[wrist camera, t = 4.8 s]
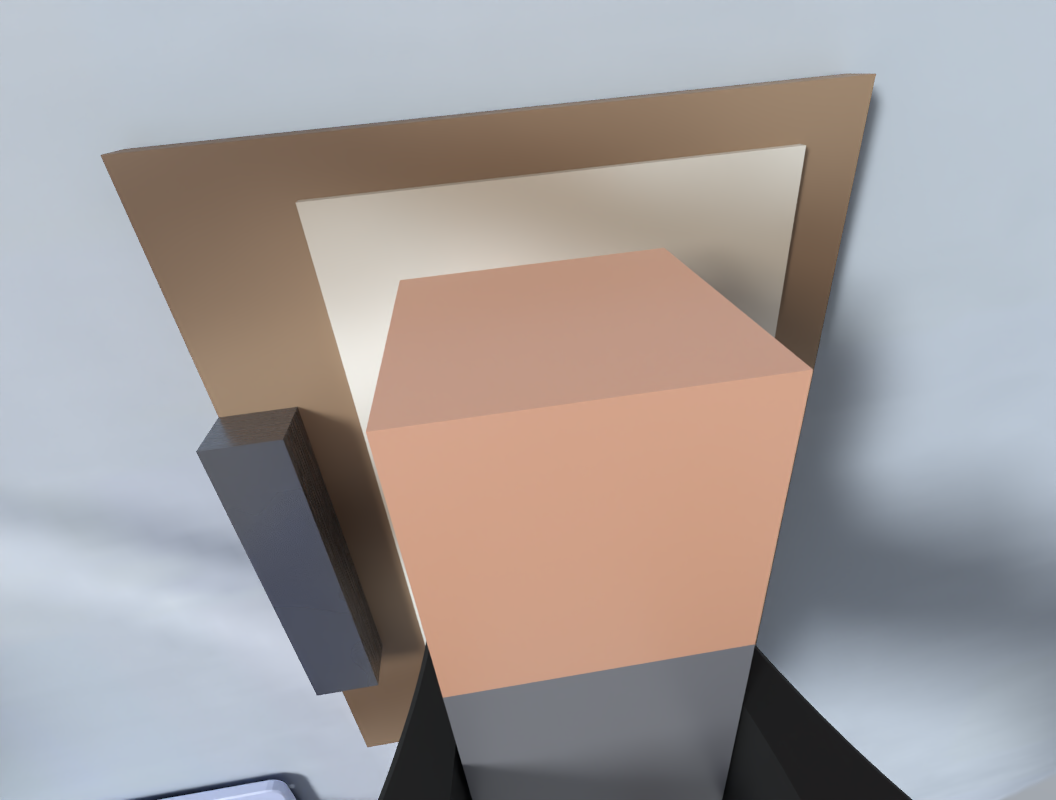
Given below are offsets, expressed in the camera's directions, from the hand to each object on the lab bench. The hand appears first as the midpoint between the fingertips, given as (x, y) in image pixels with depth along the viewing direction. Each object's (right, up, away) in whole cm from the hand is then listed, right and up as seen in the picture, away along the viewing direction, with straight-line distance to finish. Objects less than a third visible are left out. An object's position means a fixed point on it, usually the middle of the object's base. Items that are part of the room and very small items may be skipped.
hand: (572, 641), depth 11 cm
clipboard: (-1, +2, +4) cm, 4 cm away
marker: (0, +1, +1) cm, 1 cm away
